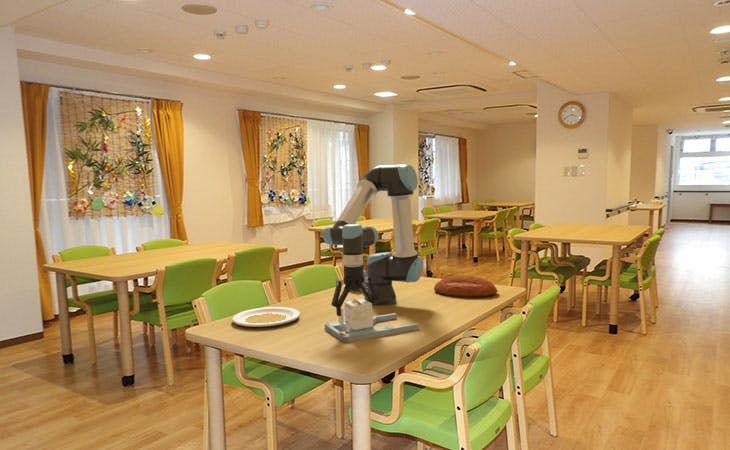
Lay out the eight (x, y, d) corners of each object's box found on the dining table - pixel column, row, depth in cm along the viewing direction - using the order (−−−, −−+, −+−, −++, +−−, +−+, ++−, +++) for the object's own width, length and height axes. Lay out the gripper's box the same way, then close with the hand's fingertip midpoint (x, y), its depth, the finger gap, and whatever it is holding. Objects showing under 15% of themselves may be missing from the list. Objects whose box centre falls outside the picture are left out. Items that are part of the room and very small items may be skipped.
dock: (324, 329, 198) (324, 324, 198) (394, 317, 212) (394, 313, 212) (344, 342, 181) (344, 337, 181) (419, 329, 195) (419, 324, 194)
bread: (493, 300, 237) (493, 282, 236) (428, 296, 249) (427, 278, 249) (500, 290, 258) (500, 273, 257) (439, 287, 270) (439, 270, 269)
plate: (275, 308, 234) (275, 303, 234) (313, 319, 214) (313, 313, 214) (220, 321, 214) (220, 316, 214) (256, 334, 194) (256, 328, 194)
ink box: (374, 333, 191) (373, 298, 190) (353, 336, 188) (352, 301, 186) (364, 327, 199) (363, 294, 198) (344, 330, 195) (343, 296, 194)
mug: (368, 292, 261) (367, 273, 260) (346, 292, 261) (346, 273, 260) (368, 286, 276) (367, 268, 275) (348, 286, 276) (347, 268, 275)
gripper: (328, 269, 183) (330, 329, 185) (385, 263, 193) (386, 319, 195) (321, 266, 189) (323, 324, 191) (376, 260, 200) (377, 315, 202)
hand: (355, 321), depth 193 cm, fingers open, 11 cm apart
